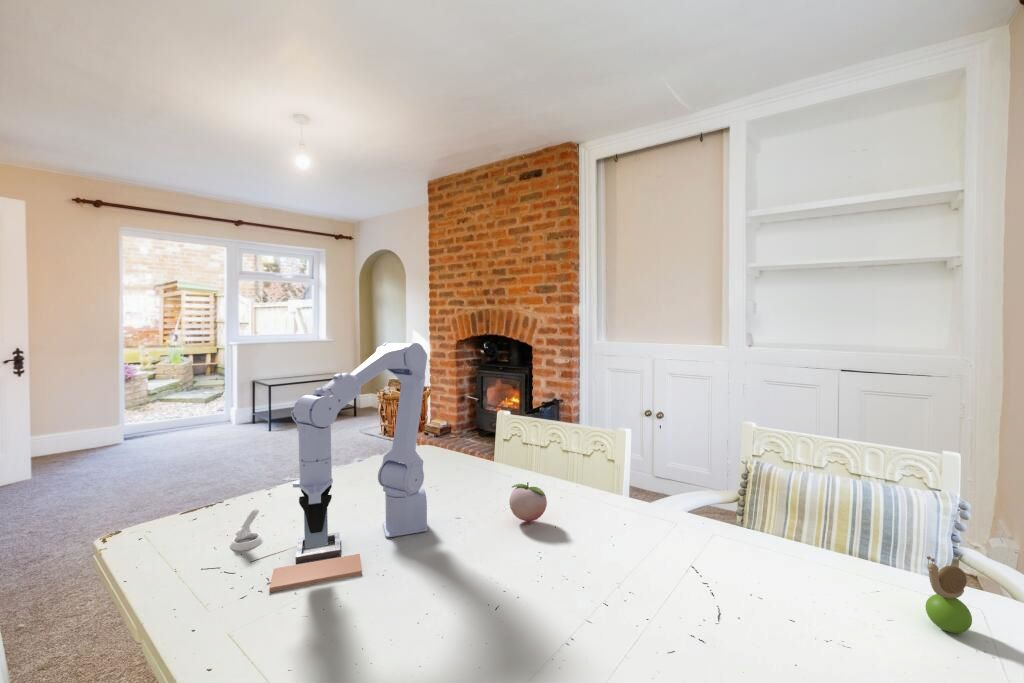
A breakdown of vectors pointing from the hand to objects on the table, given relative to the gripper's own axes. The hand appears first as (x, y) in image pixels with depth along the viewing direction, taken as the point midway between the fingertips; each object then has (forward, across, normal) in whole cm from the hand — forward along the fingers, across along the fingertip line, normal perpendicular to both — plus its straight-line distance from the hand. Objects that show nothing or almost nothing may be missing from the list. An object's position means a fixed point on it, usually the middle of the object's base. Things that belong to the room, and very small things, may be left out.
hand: (316, 526), depth 90 cm
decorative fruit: (+10, -6, +47) cm, 48 cm away
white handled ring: (+10, -19, -15) cm, 26 cm away
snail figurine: (+10, +54, +94) cm, 109 cm away
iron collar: (+9, -10, 0) cm, 13 cm away
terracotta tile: (+9, 0, 0) cm, 9 cm away
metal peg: (+3, 0, 0) cm, 3 cm away
